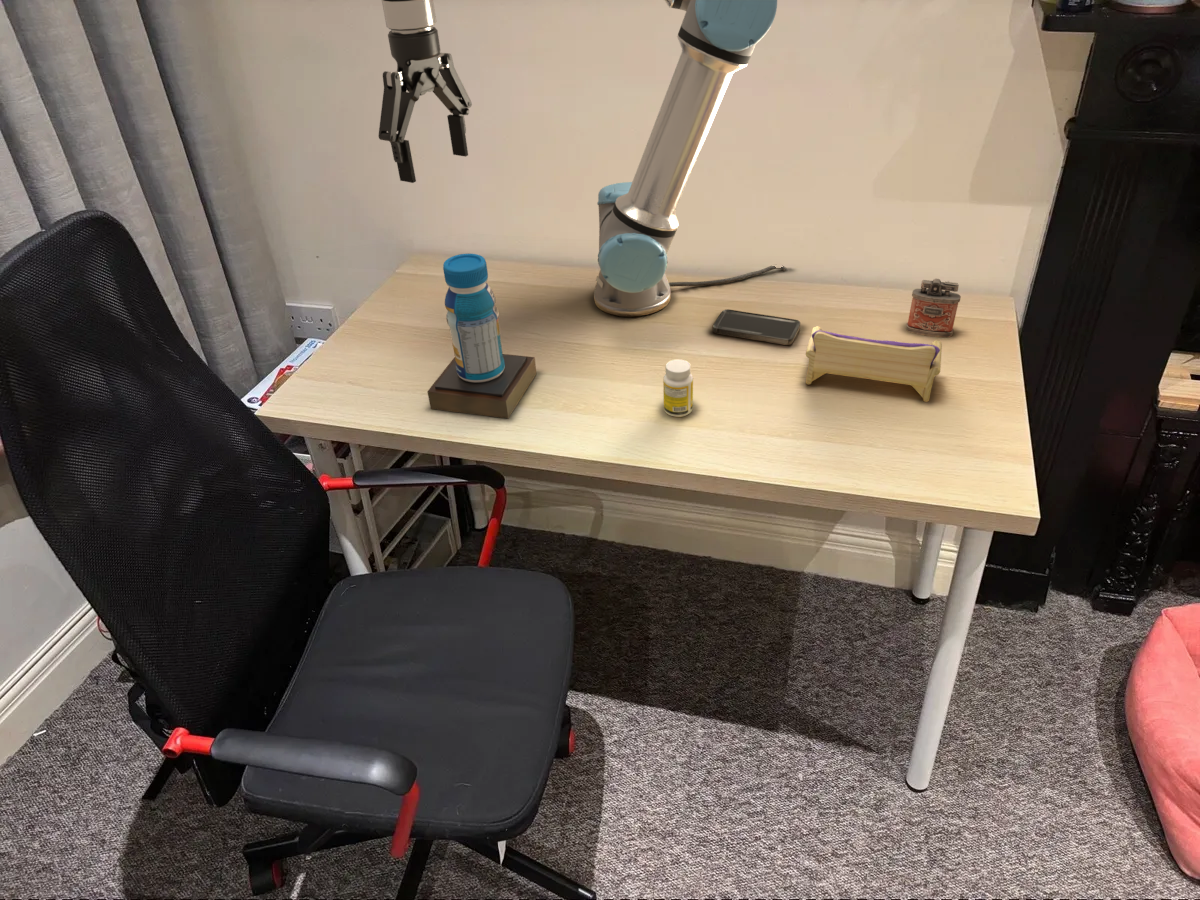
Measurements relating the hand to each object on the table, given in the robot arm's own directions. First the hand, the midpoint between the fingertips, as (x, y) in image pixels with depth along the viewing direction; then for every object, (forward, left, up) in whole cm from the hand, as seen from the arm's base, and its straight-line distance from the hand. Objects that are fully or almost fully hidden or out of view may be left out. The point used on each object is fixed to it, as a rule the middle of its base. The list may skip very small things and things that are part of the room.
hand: (435, 167), depth 143 cm
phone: (-54, +10, -33) cm, 64 cm away
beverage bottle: (-3, +19, -29) cm, 35 cm away
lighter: (-84, +18, -33) cm, 92 cm away
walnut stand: (-3, +19, -33) cm, 38 cm away
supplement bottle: (-34, +32, -33) cm, 57 cm away
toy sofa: (-67, +31, -33) cm, 81 cm away
